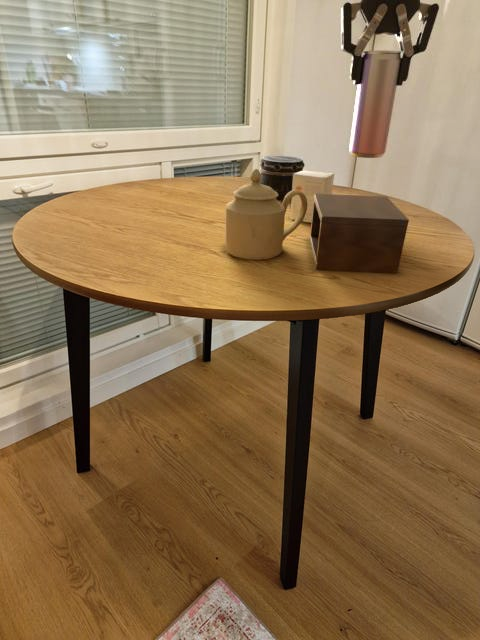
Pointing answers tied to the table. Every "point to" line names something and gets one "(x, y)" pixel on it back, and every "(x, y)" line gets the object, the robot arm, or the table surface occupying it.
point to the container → (280, 173)
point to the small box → (309, 190)
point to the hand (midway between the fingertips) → (377, 84)
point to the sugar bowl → (258, 220)
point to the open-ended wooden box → (357, 233)
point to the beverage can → (374, 103)
